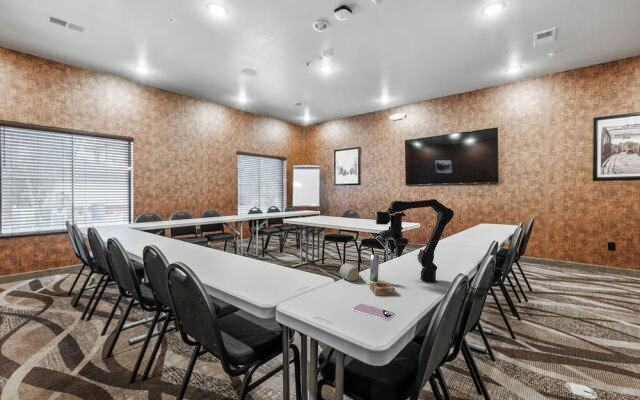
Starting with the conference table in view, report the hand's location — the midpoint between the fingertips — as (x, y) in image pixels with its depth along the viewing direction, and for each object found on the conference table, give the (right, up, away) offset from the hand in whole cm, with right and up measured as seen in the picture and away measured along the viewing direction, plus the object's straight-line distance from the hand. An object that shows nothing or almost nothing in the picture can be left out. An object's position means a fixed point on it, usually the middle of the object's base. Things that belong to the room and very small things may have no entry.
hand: (395, 254), depth 150 cm
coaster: (-12, -13, -3) cm, 18 cm away
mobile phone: (-19, -15, -41) cm, 47 cm away
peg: (-12, -13, -3) cm, 17 cm away
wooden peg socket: (-11, -13, -18) cm, 25 cm away
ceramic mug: (-23, -13, 0) cm, 26 cm away
